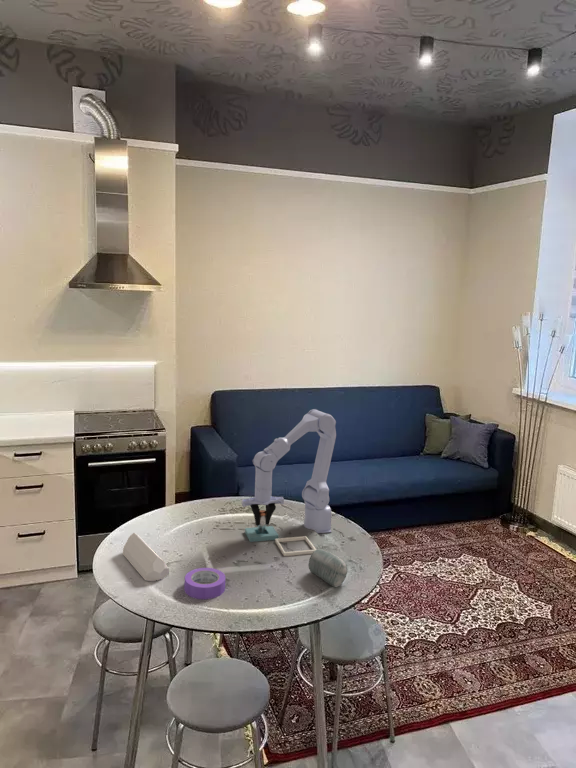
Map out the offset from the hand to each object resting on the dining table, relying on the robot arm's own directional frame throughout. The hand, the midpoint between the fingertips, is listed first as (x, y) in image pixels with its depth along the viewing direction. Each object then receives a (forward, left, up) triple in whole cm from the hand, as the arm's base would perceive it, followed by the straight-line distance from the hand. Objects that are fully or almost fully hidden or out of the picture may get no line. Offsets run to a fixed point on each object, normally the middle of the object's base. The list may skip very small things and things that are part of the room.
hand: (262, 524), depth 202 cm
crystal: (+40, +11, -6) cm, 42 cm away
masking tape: (+24, +29, -6) cm, 38 cm away
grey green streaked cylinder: (-13, +31, -6) cm, 34 cm away
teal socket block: (0, 0, -6) cm, 6 cm away
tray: (-9, +11, -6) cm, 15 cm away
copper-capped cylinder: (0, 0, -2) cm, 2 cm away
